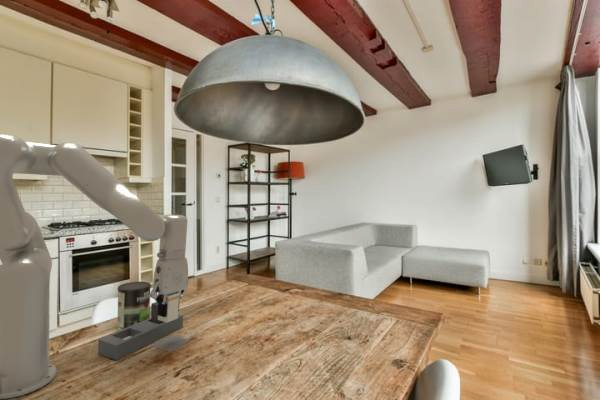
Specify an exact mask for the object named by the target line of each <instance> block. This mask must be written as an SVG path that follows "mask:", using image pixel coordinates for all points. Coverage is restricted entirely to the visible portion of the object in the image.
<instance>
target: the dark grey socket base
mask: <svg viewBox="0 0 600 400" xmlns="http://www.w3.org/2000/svg"><path fill="white" fill-rule="evenodd" d="M183 324H184V316H183V314H180V313H178V318H177V319H175V320H173V321H170V322H168V323H167V322H163V323H161V324H157V323H153V322H151V317H150V318H148V319H146V320H144V321H141V322H139V323H136V324H134V325H132V326H129V327H127V328H124V329H122V330H118V331H115V332H113V333H111V334H108V335H105V336H103V337H101V338H99V339H98V340H97V341H98V349H97V353H98V355H101V356H103V357H106V358H109V359H111V360H114V361H118V360H120V359H123V358H125V357H126V356H128V355H130V354H132V353H134V352H136V351H138V350H140V349H142V348H144V347H147V346H148V345H150V344H152V343H154V342H156V341H158V340H160V339H162V338H165V337H166V336H168V335H170V334H172V333H174V332H176V331H178V330H179V329H182V328H183V327H184V325H183Z"/></svg>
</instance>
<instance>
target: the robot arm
mask: <svg viewBox="0 0 600 400" xmlns="http://www.w3.org/2000/svg"><path fill="white" fill-rule="evenodd" d="M14 174H28V175H43V176H56V177H57V176H58V177H59V176H60V177H63V178H64V179H65V180H66V181H67V182H68V183H70V184H71V185H72V186H74V187H75V188H76V189H77V190H78V191H79V192H81V193H82V194H83V195H85V197H87V198H88V199H89V200H90V201H92V202H93V203H94V204H95V205H96V206H98V207H99V208H101V209H102V210H104V211H106V212H108V213H109V214H111V215H112V216H113V217H114V218H116V219H117V220H118V221H119V222H120V223H122V224H123V225H124V226H125V227H127V228H128V229H129V230H130V231H131V232H133V234H135V235H136V237H138V238H140V239H141V240H143V241H146V242H154V241H158V240H159V249H158V250H159V251H158V253H156V256H157V257H156V258H158V259H157V260H156V262H155V269H154V274H153V280H152V288H151V290H150V295H149V297H150V299H151V298H152V299H153V300H155V302H157V303H158V316H162V317H166V315H167V303H166V300H167V295H168V294H171V293H174V292H178V293H179V301H180V299H182V297H183V294H184V292H185V291H186V290H187V288H188V287H189V265H188V259H187V257H186V248H187V236H188V235H187V233H188V218H187V216H185V215H183V214H165V215H164V214H158V213H157V212H155V211H154V209H152V208H151V207H150V206H149V205H148V204H146V203H145V202H144V201H143V200H142V199H141V198H140V197H138V196H137V195H136V194H135V193H134V192H133V191H132V190H130V189H129V187H127V186H126V185H125V184H124V183H123V182H122V181H121V180H120V179H119V178H117V176H115V175H114V174H113V173H111V171H110V170H108V169H107V168H106V167H105V166H104V165H103V164H102V163H101V162H99V161H98V160H97V158H95V157H94V156H93V155H92V154H91V153H90V152H88V150H86V149H85V148H84V147H82V146H81V145H80V144H77V143H73V142H70V141H69V142H67V141H66V142H61V143H58V144H50V143H49V144H48V143H40V142H34V141H33V142H32V141H25V140H23V139H22V138H21V137H18V136H16V135H12V134H10V133H3V132H0V261H1V264H0V400H7V399H13V398H16V397H21V396H24V395H26V394H30V393H33V392H34V391H36V390H39V389H41V388H42V387H45V386H46V385H47V384H49V383H50V382H51V381H52V380H54V379H55V378H56V376H57V373H58V372H57V369H58V368H57V367H56V366H55V365H53V364H51V363H50V319H51V318H50V316H51V315H50V308H51V307H50V282H51V280H50V279H51V270H52V266H53V262H52V257H51V255H50V252H49V249H48V246H47V244H46V242H45V239H44V237H43V234H42V231H41V229H40V227H39V224H38V222H37V220H36V218H35V217H34V216H33V215H32V214H31V213H29V212H27V211H26V210H25V208H24V206H23V203H22V201H21V198H20V194H19V191H18V189H17V187H16V184H15V183H14V179H13V176H14ZM162 295H163V298H162ZM179 311H180V305H179V306H178V313H179Z"/></svg>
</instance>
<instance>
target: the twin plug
mask: <svg viewBox="0 0 600 400" xmlns="http://www.w3.org/2000/svg"><path fill="white" fill-rule="evenodd" d="M150 310H151V311H150V314H151V315H150V318H151V322H153V323H157V324H161V323H163V322H164V321H160V320H158V303H157V302H156V301H154V302H153V303H152V302H151V303H150Z"/></svg>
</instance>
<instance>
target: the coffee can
mask: <svg viewBox="0 0 600 400" xmlns="http://www.w3.org/2000/svg"><path fill="white" fill-rule="evenodd" d="M151 285H152V284H151V283H150V282H147V281H131V282H126V283H122V284H120V285H119V286H117V324H116V325H117V327H116V329H117V330H118V331H120V330H122V329H124V328H127V327H129V326H132V325H134V324H136V323H139V322H141V321H144V320H146V319H148V318H151V315H150V314H151V311H150V310H151V297H149V295H150V293H151Z"/></svg>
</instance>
